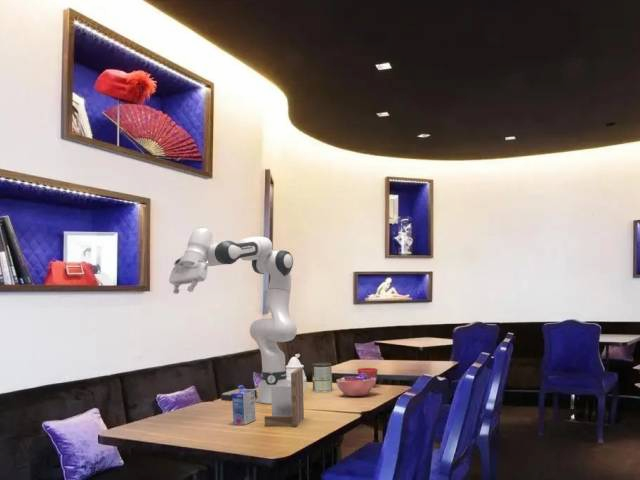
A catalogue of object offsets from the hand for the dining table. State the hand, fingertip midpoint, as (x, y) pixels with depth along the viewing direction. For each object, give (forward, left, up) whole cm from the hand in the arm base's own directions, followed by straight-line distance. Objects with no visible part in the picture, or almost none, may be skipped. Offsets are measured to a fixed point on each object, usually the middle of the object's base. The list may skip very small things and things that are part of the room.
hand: (182, 292), depth 248 cm
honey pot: (-93, +29, -53) cm, 111 cm away
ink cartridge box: (-1, +25, -53) cm, 58 cm away
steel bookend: (-9, +40, -52) cm, 66 cm away
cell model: (-64, +65, -53) cm, 105 cm away
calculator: (-59, +7, -53) cm, 80 cm away
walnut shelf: (-1, +41, -52) cm, 66 cm away
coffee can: (-80, +46, -53) cm, 106 cm away
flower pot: (-92, +69, -53) cm, 126 cm away
